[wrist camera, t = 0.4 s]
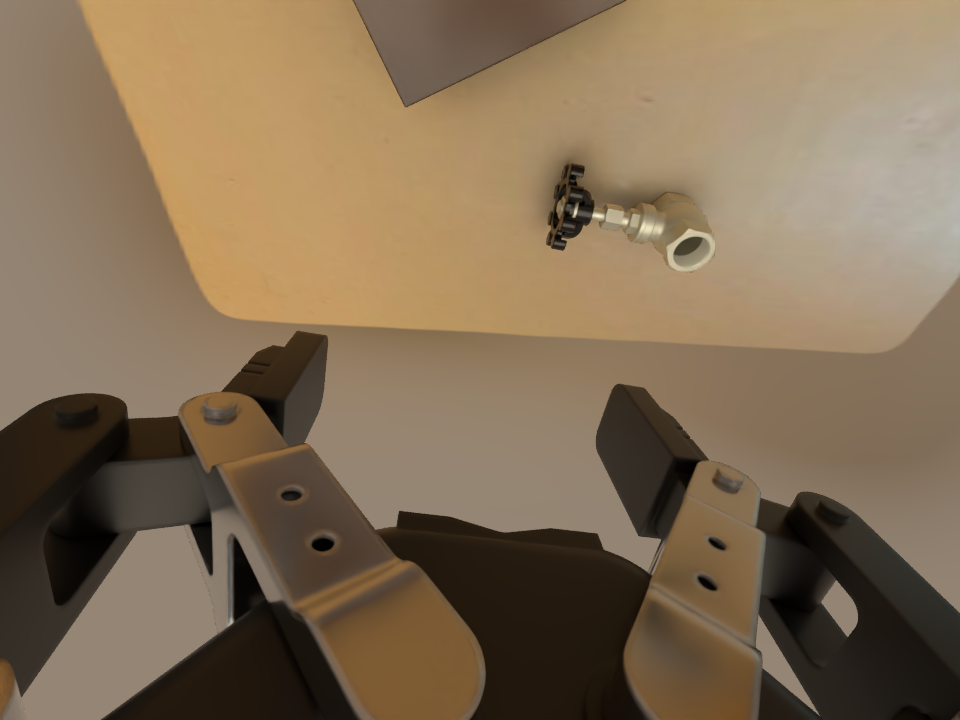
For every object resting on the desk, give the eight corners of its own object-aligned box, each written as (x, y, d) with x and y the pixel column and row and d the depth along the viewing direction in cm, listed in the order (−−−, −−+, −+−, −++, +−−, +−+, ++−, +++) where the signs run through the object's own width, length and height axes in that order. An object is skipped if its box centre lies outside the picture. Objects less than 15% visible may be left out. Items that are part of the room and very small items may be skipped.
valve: (712, 179, 38) (567, 148, 37) (742, 216, 33) (576, 181, 32) (674, 251, 42) (543, 225, 41) (695, 293, 38) (548, 265, 36)
